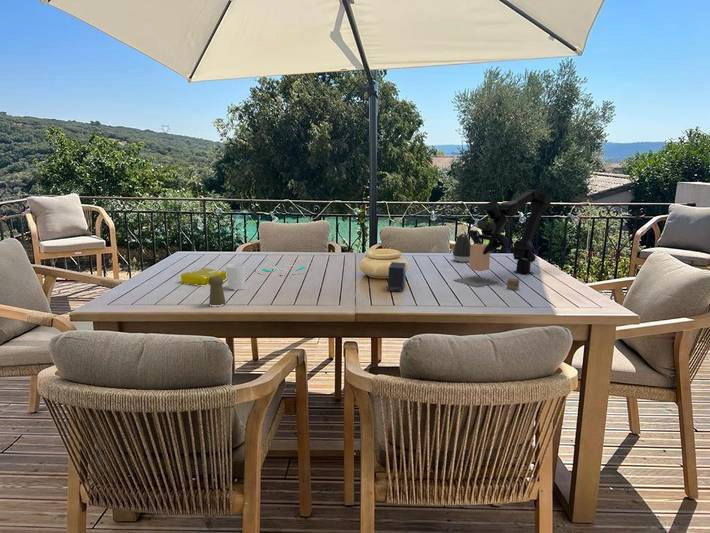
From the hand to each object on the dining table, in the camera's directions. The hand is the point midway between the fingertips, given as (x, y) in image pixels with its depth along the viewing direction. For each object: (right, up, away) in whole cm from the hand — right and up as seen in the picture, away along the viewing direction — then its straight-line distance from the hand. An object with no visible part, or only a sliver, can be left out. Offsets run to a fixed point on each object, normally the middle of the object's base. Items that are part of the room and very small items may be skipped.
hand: (478, 252), depth 205 cm
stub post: (+13, -16, -8) cm, 22 cm away
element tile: (-123, -13, +5) cm, 123 cm away
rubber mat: (0, -13, +4) cm, 13 cm away
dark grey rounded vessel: (+4, -4, +48) cm, 48 cm away
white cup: (-105, -16, -8) cm, 106 cm away
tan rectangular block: (+1, -7, +2) cm, 8 cm away
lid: (-90, -8, +28) cm, 95 cm away
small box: (-37, -16, -8) cm, 40 cm away
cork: (-106, -21, -31) cm, 112 cm away
